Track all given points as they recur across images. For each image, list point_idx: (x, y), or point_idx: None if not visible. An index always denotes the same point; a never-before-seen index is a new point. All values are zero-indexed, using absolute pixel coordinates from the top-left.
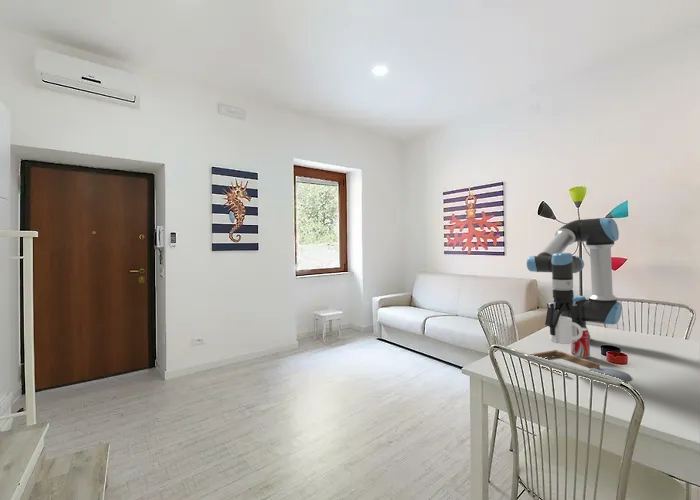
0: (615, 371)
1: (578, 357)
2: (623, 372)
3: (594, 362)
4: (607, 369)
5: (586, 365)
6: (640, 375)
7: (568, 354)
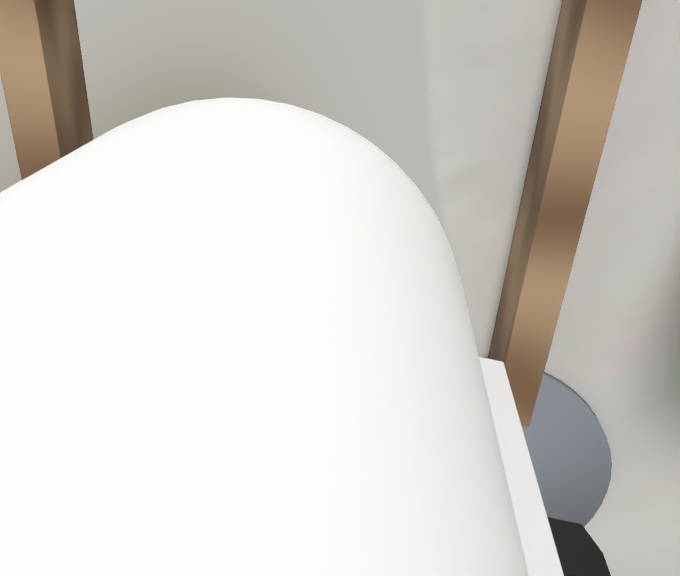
0: (554, 480)
1: (577, 214)
2: (583, 511)
3: (537, 385)
4: (553, 433)
5: (503, 303)
6: (648, 556)
7: (603, 68)
